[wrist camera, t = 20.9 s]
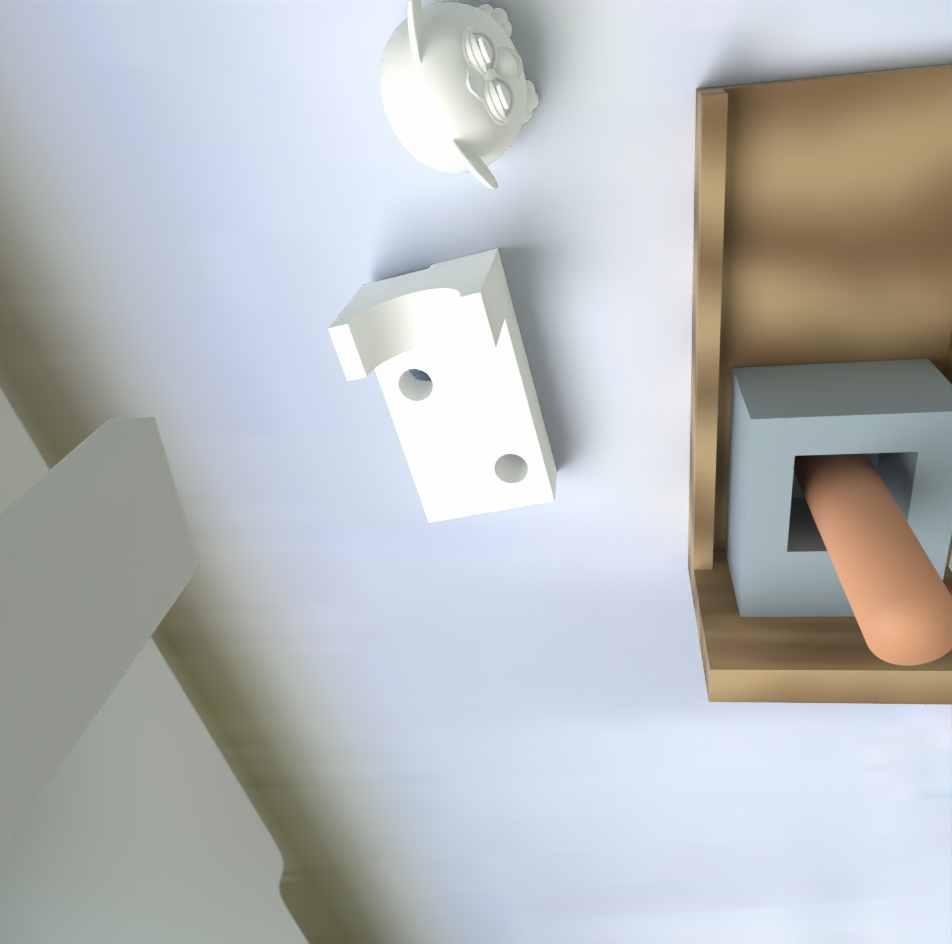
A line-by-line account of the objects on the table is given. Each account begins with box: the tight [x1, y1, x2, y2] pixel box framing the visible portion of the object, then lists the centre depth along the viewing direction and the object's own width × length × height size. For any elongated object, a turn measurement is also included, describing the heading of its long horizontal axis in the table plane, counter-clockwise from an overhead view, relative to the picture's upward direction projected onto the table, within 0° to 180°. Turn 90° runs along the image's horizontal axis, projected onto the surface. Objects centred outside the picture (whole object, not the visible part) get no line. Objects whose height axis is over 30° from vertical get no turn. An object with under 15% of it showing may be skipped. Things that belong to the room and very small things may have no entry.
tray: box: [688, 64, 952, 704], centre depth 39 cm, size 26×13×11 cm, turn 6°
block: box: [725, 359, 952, 617], centre depth 43 cm, size 11×9×6 cm
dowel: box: [794, 453, 952, 666], centre depth 38 cm, size 3×3×14 cm
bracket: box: [328, 248, 557, 523], centre depth 44 cm, size 13×7×8 cm, turn 16°
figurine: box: [380, 0, 539, 189], centre depth 37 cm, size 8×6×7 cm
